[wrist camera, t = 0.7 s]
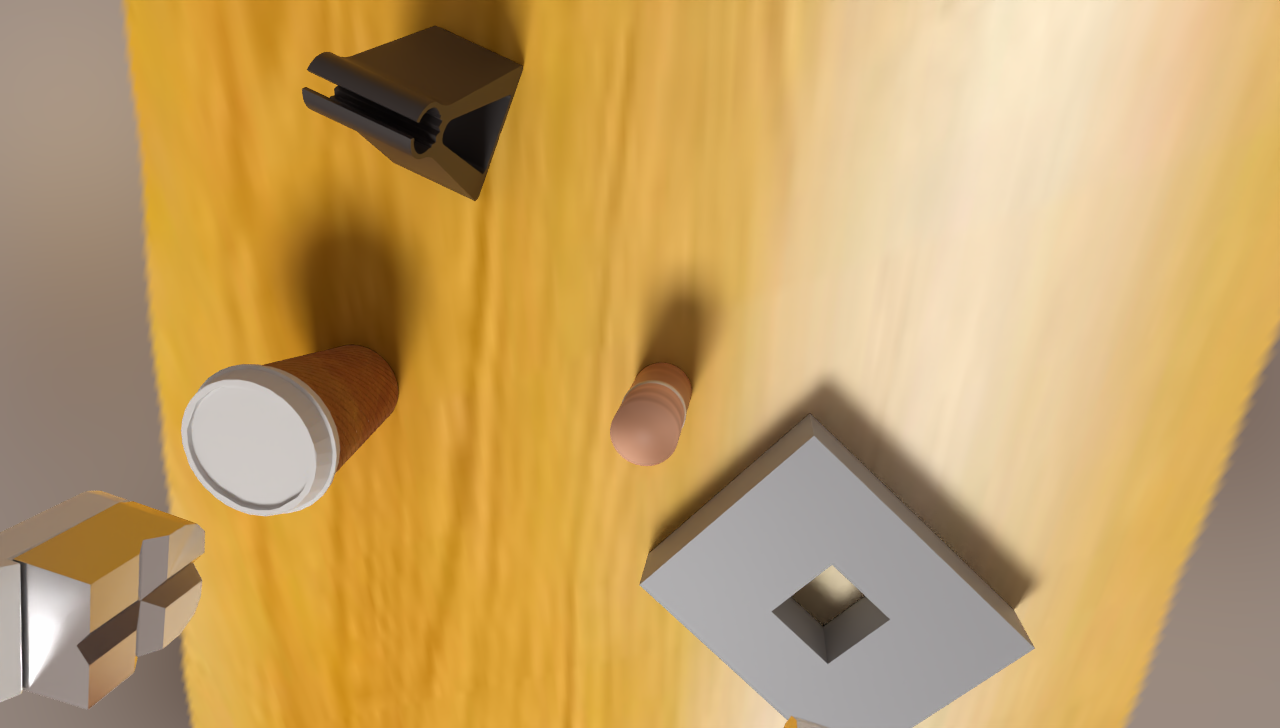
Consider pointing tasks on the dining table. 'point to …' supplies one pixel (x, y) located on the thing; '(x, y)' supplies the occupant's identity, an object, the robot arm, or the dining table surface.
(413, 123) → the phone stand
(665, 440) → the terracotta peg
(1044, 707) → the dining table surface
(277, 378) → the disposable coffee cup
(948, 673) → the gray board
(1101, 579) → the dining table surface
